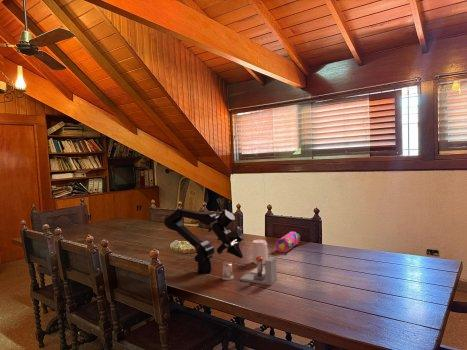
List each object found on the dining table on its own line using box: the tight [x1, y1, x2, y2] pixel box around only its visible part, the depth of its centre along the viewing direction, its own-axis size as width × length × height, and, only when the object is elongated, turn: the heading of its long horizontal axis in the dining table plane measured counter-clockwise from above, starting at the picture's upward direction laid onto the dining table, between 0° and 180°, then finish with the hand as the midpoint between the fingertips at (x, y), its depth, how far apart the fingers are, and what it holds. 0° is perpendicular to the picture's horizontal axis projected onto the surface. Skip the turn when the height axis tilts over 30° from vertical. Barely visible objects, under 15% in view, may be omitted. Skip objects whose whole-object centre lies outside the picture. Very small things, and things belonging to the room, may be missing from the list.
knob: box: [221, 261, 235, 281], centre depth 161 cm, size 6×6×7 cm
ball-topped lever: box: [254, 256, 266, 280], centre depth 155 cm, size 5×4×10 cm
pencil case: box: [275, 231, 301, 254], centre depth 206 cm, size 22×9×9 cm, turn 151°
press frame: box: [240, 256, 278, 286], centre depth 160 cm, size 16×17×11 cm
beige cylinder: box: [251, 239, 269, 265], centre depth 181 cm, size 8×8×12 cm
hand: (242, 257), depth 160 cm, fingers closed
